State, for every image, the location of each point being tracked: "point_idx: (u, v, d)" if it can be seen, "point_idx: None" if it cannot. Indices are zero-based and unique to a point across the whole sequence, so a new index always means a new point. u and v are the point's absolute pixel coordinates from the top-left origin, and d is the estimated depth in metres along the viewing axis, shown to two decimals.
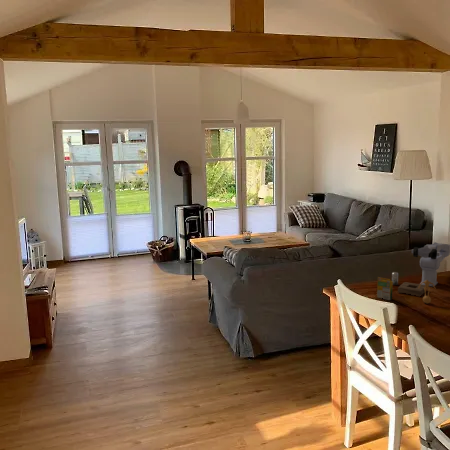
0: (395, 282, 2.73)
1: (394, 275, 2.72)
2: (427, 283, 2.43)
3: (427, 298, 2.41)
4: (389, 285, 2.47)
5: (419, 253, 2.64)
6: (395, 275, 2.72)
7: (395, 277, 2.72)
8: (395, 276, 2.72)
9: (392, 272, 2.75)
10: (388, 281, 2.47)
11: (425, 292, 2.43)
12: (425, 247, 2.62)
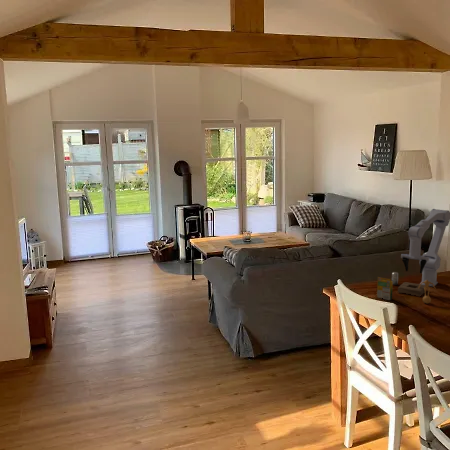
0: (395, 282, 2.73)
1: (394, 275, 2.72)
2: (427, 283, 2.43)
3: (427, 298, 2.41)
4: (389, 285, 2.47)
5: None
6: (395, 275, 2.72)
7: (395, 277, 2.72)
8: (395, 276, 2.72)
9: (392, 272, 2.75)
10: (388, 281, 2.47)
11: (425, 292, 2.43)
12: None
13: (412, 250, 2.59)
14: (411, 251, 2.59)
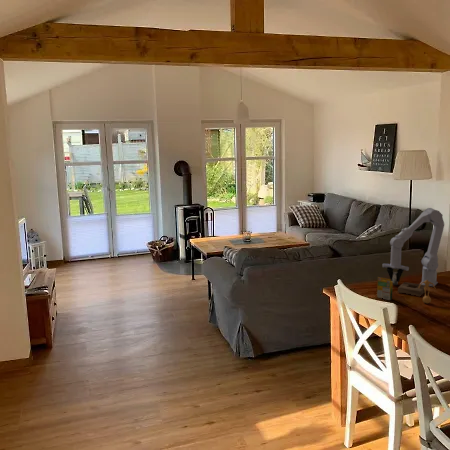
0: (395, 282, 2.73)
1: (394, 275, 2.72)
2: (427, 283, 2.43)
3: (427, 298, 2.41)
4: (389, 285, 2.47)
5: None
6: (395, 275, 2.72)
7: (395, 277, 2.72)
8: (395, 276, 2.72)
9: (392, 272, 2.74)
10: (388, 281, 2.47)
11: (425, 292, 2.43)
12: (393, 267, 2.71)
13: (393, 260, 2.70)
14: (392, 261, 2.71)
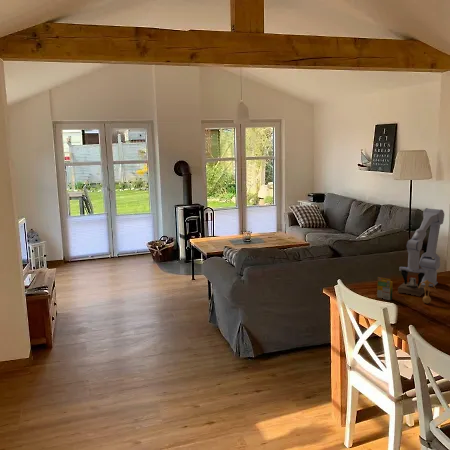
0: None
1: (412, 281, 2.59)
2: (427, 283, 2.43)
3: (427, 298, 2.41)
4: (389, 285, 2.47)
5: None
6: (413, 281, 2.59)
7: (413, 283, 2.59)
8: (413, 282, 2.59)
9: (409, 278, 2.61)
10: (388, 281, 2.47)
11: (425, 292, 2.43)
12: None
13: (410, 263, 2.57)
14: (409, 264, 2.57)
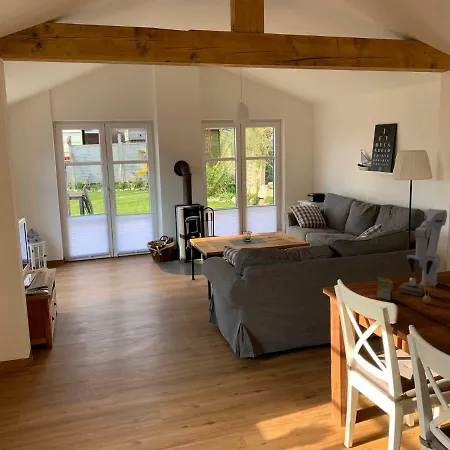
0: None
1: (412, 281, 2.59)
2: (427, 283, 2.43)
3: (427, 298, 2.41)
4: (389, 285, 2.47)
5: None
6: (413, 281, 2.59)
7: (413, 283, 2.59)
8: (413, 282, 2.59)
9: None
10: (388, 281, 2.47)
11: (425, 292, 2.43)
12: None
13: (418, 251, 2.56)
14: (417, 252, 2.57)
